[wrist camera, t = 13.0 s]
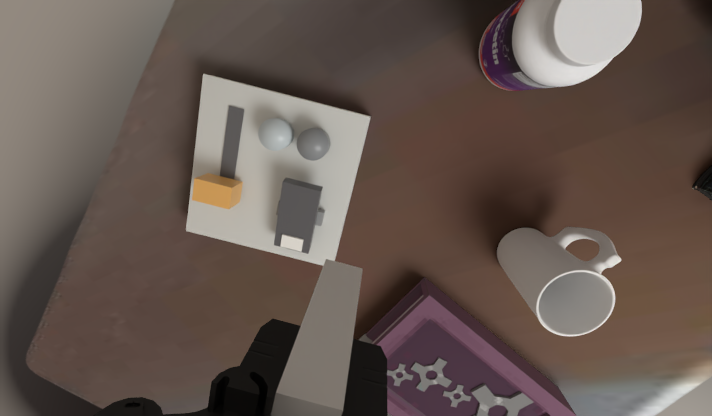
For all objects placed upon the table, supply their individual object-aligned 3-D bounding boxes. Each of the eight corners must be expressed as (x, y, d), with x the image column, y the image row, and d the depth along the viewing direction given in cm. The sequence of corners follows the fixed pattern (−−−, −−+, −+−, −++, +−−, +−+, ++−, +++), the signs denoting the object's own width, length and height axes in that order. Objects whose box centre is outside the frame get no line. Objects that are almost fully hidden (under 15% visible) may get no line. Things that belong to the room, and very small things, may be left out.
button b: (267, 114, 37) (260, 115, 35) (296, 122, 37) (292, 123, 35) (262, 144, 37) (255, 146, 36) (290, 151, 38) (286, 154, 36)
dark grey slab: (285, 177, 36) (281, 182, 35) (322, 186, 36) (320, 192, 35) (277, 239, 40) (273, 246, 39) (310, 247, 40) (307, 254, 39)
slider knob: (208, 173, 39) (194, 178, 36) (243, 181, 39) (232, 187, 36) (205, 193, 39) (191, 200, 36) (239, 202, 39) (229, 209, 37)
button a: (304, 124, 37) (299, 125, 35) (333, 131, 37) (330, 133, 35) (298, 153, 38) (293, 156, 36) (326, 161, 38) (324, 163, 36)
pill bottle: (497, -4, 35) (573, -75, 21) (569, 25, 36) (690, -27, 22) (462, 76, 38) (511, 58, 24) (531, 102, 38) (619, 100, 24)
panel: (216, 76, 39) (197, 72, 35) (371, 116, 39) (370, 117, 35) (198, 222, 44) (180, 233, 40) (335, 257, 44) (331, 272, 40)
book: (343, 352, 49) (339, 378, 44) (423, 274, 45) (428, 295, 40) (472, 449, 52) (482, 483, 48) (557, 385, 48) (577, 416, 43)
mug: (519, 286, 44) (568, 349, 32) (482, 252, 43) (520, 305, 31) (585, 231, 41) (664, 279, 30) (547, 194, 40) (614, 228, 29)
